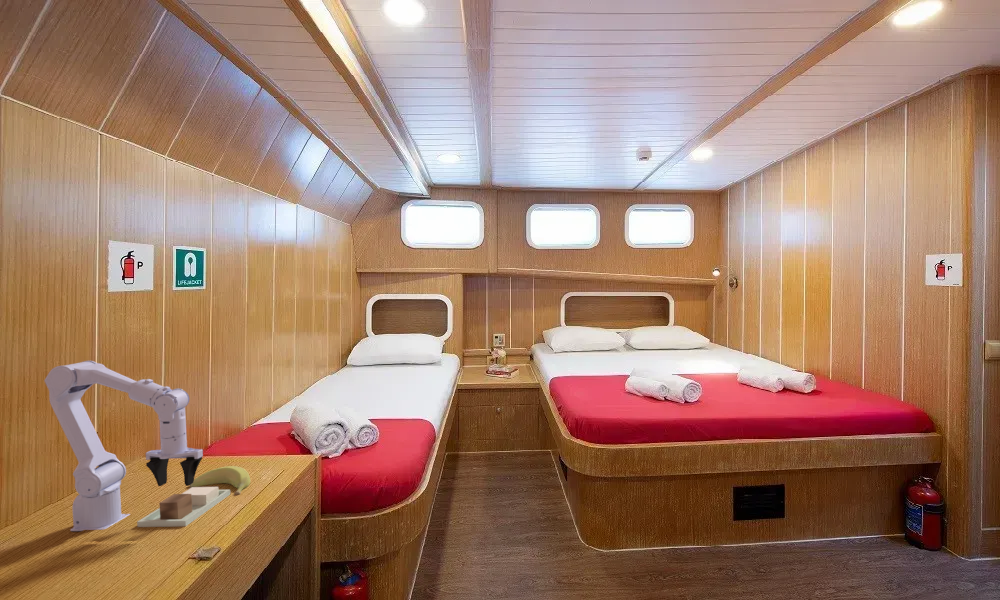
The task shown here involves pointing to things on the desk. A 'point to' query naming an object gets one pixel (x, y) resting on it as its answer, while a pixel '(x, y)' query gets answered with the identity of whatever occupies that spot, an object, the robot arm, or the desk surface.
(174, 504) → the walnut block
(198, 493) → the pale pink block
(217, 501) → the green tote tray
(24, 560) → the desk surface
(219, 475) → the banana
